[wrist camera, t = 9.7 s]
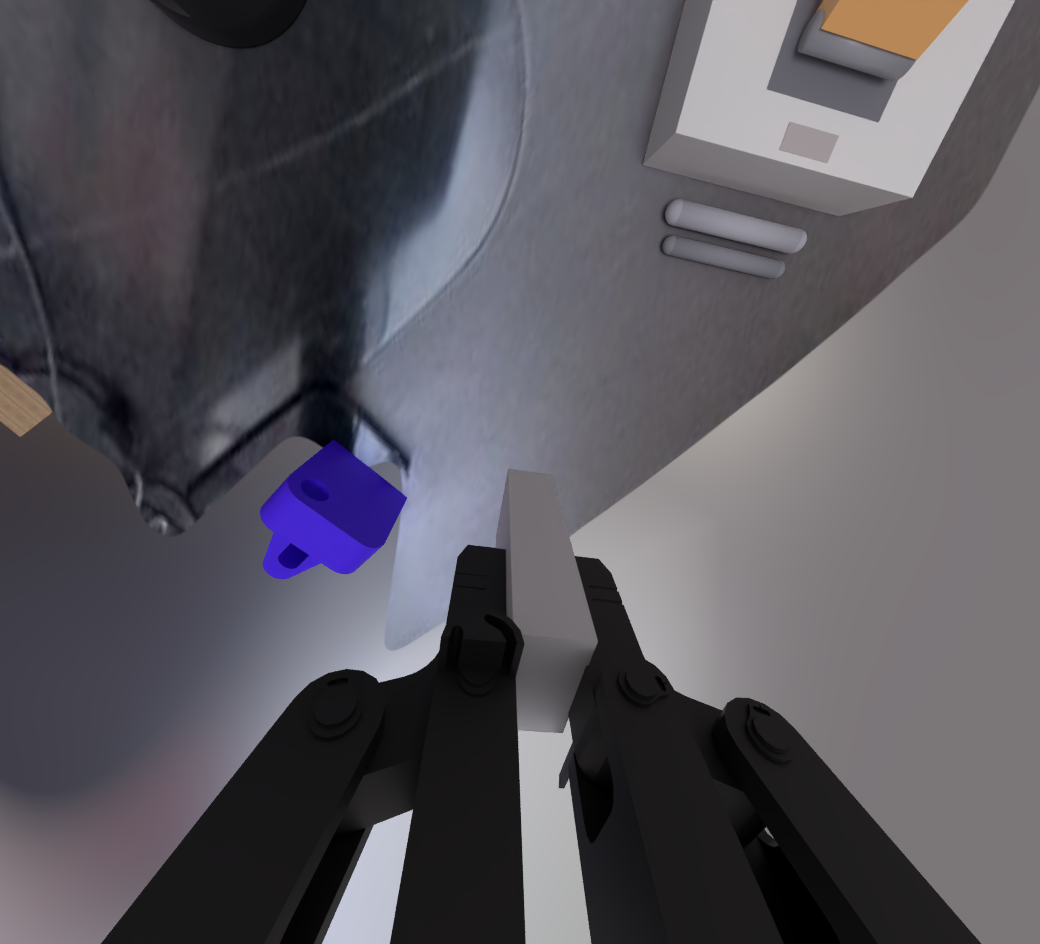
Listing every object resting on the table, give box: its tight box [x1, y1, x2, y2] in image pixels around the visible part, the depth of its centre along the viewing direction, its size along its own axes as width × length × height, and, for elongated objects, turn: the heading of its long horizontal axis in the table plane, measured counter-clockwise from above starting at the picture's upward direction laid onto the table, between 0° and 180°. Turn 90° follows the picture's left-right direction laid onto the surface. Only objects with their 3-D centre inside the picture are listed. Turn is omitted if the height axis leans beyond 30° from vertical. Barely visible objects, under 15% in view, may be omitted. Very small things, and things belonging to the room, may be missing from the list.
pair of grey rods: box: [662, 199, 807, 279], centre depth 35 cm, size 4×14×2 cm, turn 79°
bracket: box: [260, 440, 407, 579], centre depth 41 cm, size 18×11×12 cm, turn 133°
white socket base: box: [643, 0, 1015, 216], centre depth 28 cm, size 12×20×7 cm, turn 79°
